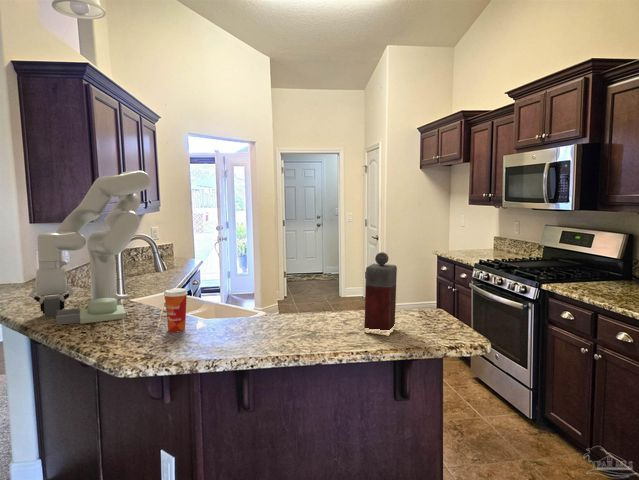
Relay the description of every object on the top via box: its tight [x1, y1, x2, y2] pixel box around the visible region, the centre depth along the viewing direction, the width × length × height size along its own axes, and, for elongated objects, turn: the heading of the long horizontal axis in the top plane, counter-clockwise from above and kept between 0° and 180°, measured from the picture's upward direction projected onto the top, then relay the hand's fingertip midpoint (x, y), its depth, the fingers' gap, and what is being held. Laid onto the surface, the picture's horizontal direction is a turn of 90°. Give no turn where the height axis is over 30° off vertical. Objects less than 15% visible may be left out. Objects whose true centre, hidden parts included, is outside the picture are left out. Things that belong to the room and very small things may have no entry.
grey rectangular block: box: [44, 294, 60, 319], centre depth 159 cm, size 5×6×7 cm
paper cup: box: [163, 287, 188, 333], centre depth 143 cm, size 8×8×14 cm
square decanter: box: [364, 251, 398, 330], centre depth 146 cm, size 9×11×28 cm
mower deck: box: [55, 298, 127, 326], centre depth 157 cm, size 22×14×6 cm, turn 120°
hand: (52, 311), depth 159 cm, fingers closed on grey rectangular block, 5 cm apart
